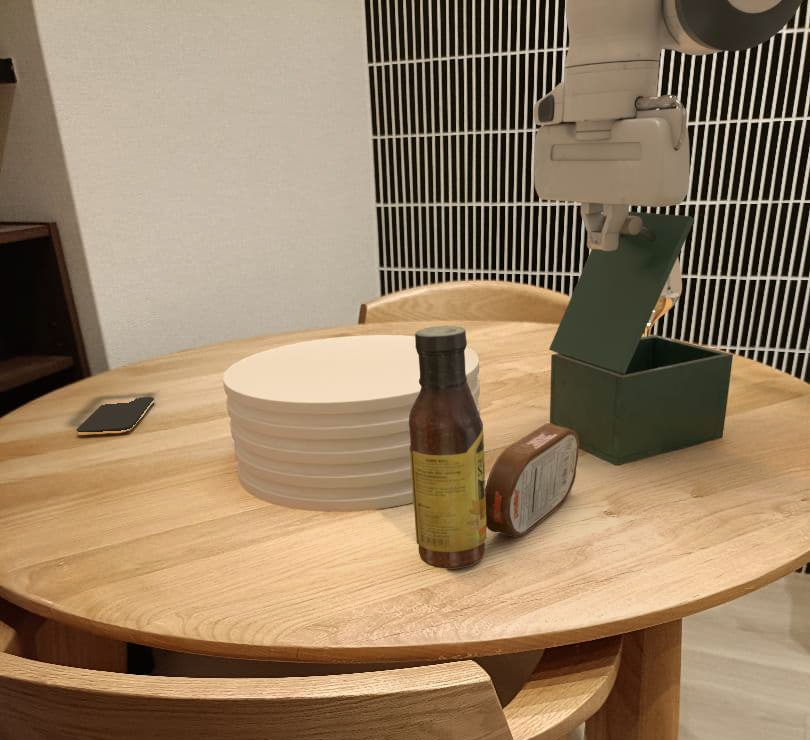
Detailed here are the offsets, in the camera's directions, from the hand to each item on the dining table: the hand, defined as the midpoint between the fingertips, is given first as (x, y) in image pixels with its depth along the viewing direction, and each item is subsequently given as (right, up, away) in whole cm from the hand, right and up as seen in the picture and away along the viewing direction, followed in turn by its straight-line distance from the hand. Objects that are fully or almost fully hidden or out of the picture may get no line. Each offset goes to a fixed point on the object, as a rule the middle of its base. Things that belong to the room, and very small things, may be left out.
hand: (602, 249), depth 86 cm
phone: (-61, -13, +30) cm, 69 cm away
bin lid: (+3, -3, +3) cm, 5 cm away
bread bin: (+7, -18, +12) cm, 23 cm away
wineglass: (+14, -7, +34) cm, 38 cm away
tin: (-8, -29, -7) cm, 31 cm away
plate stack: (-26, -21, +9) cm, 35 cm away
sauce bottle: (-17, -32, -13) cm, 38 cm away
